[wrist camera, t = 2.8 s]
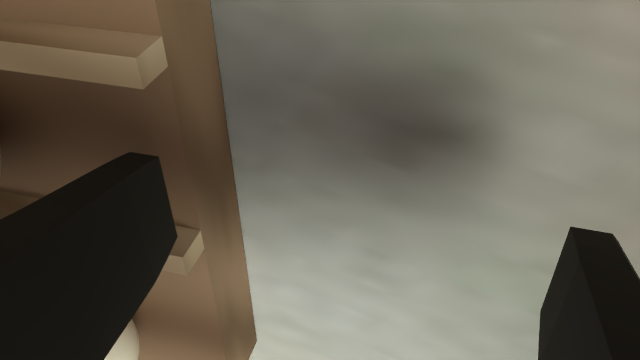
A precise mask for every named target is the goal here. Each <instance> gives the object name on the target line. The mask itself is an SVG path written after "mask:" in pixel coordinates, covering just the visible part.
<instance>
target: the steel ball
mask: <svg viewBox="0 0 640 360" xmlns="http://www.w3.org/2000/svg"><path fill="white" fill-rule="evenodd" d="M1 170H2V155H1V148H0V176H1Z"/></svg>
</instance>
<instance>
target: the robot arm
mask: <svg viewBox="0 0 640 360" xmlns="http://www.w3.org/2000/svg"><path fill="white" fill-rule="evenodd" d="M177 237H178V236H177V232H176V228H175V223H174V219H173V215H172V210H171V206H170V202H169V198H168V193H167V189H166V185H165V181H164V176H163V172H162V168H161V164H160V159H159V157H158V156H152V155H146V154H141V153H135V152H128V153H126V154H124V155H122V156H120V157H117V158H115V159H113V160H111V161H109V162H107V163H105V164H104V165H102V166H100V167H98V168H96V169H94V170H92V171H90V172H88V173H87V174H85V175H83V176H81V177H79V178H77V179H76V180H74V181H72V182H70V183H68V184H66V185H65V186H63V187H61V188H59V189H57V190H55V191H53V192H52V193H50V194H48V195H46V196H44V197H42V198H40V199H39V200H37V201H35V202H33V203H31V204H29V205H27V206H26V207H24V208H22V209H20V210H18V211H16V212H14V213H12V214H10V215H8V216H6V217H4V218H2V219H0V360H104V359H105V358H106V356H107V355H108V353H109V352H110V350H111V349H112V347H113V346H114V344H115V343H116V341H117V340H118V338H119V337H120V335H121V334H122V332H123V331H124V329H125V328H126V326H127V325H128V323H129V322H130V321H131V319H132V318H133V316H134V315H135V313H136V311H137V310H138V308H139V307H140V305H141V304H142V302H143V301H144V299H145V298H146V296H147V295H148V293H149V292H150V290H151V289H152V287H153V286H154V284H155V282H156V280H157V279H158V277H159V275H160V273H161V271H162V269H163V267H164V265H165V263H166V261H167V259H168V257H169V254H170V252H171V250H172V248H173V246H174V244H175V241H176V239H177ZM538 360H640V278H639V277H638V275H637V273H636V272H635V270H634V268H633V267H632V265H631V263H630V261H629V260H628V258H627V256H626V254H625V253H624V251H623V249H622V247H621V246H620V244H619V242H618V241H617V239H616V238H615V236H614V235H613V234H611V233H605V232H599V231H593V230H587V229H581V228H575V227H570V230H569V232H568V235H567V238H566V241H565V244H564V246H563V249H562V252H561V255H560V258H559V261H558V263H557V266H556V269H555V272H554V275H553V277H552V280H551V283H550V286H549V289H548V292H547V294H546V297H545V300H544V303H543V306H542V308H541V313H540V330H539V351H538Z"/></svg>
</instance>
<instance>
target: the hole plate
mask: <svg viewBox="0 0 640 360" xmlns="http://www.w3.org/2000/svg"><path fill="white" fill-rule="evenodd" d="M0 148H1V155H2V170H1V176H0V219H2V218H4V217H6V216H8V215H10V214H12V213H14V212H16V211H18V210H20V209H22V208H24V207H26V206H27V205H29V204H31V203H33V202H35V201H37V200H39V199H40V198H42V197H44V196H46V195H48V194H50V193H52V192H53V191H55V190H57V189H59V188H61V187H63V186H65V185H66V184H68V183H70V182H72V181H74V180H76V179H77V178H79V177H81V176H83V175H85V174H87V173H88V172H90V171H92V170H94V169H96V168H98V167H100V166H102V165H104V164H105V163H107V162H109V161H111V160H113V159H115V158H117V157H120V156H122V155H124V154H126V153H128V152H135V153H141V154H146V155H152V156H158V157H159V159H160V164H161V168H162V172H163V176H164V181H165V185H166V189H167V193H168V198H169V202H170V206H171V210H172V215H173V219H174V223H175V228H176V232H177V236H178V237H177V239H176V241H175V244H174V246H173V248H172V250H171V252H170V254H169V257H168V259H167V261H166V263H165V265H164V267H163V269H162V271H161V273H160V275H159V277H158V279H157V280H156V282H155V284H154V286H153V287H152V289H151V290H150V292H149V293H148V295H147V296H146V298H145V299H144V301H143V302H142V304H141V305H140V307H139V308H138V310H137V311H136V313H135V315H134V316H133V318H132V320H133V322H134V324H135V326H136V329H137V333H138V337H139V357H138V360H249V357H250V355H251V353H252V351H253V348H254V346H255V344H256V342H257V339H256V332H255V325H254V317H253V310H252V303H251V296H250V289H249V281H248V274H247V267H246V260H245V252H244V245H243V238H242V231H241V223H240V216H239V209H238V202H237V195H236V187H235V180H234V173H233V166H232V158H231V151H230V144H229V137H228V130H227V122H226V115H225V108H224V101H223V93H222V86H221V79H220V72H219V64H218V57H217V50H216V43H215V36H214V28H213V21H212V14H211V7H210V0H0Z"/></svg>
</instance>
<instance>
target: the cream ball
mask: <svg viewBox="0 0 640 360" xmlns="http://www.w3.org/2000/svg"><path fill="white" fill-rule="evenodd" d="M138 357H139V337H138V333H137V329H136V326H135V324H134V322H133V320H132V319H131V321H130V322H129V323H128V325H127V326H126V328H125V329H124V331H123V332H122V334H121V335H120V337H119V338H118V340H117V341H116V343H115V344H114V346H113V347H112V349H111V350H110V352H109V353H108V355H107V356H106V358H105V359H104V360H138Z"/></svg>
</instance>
